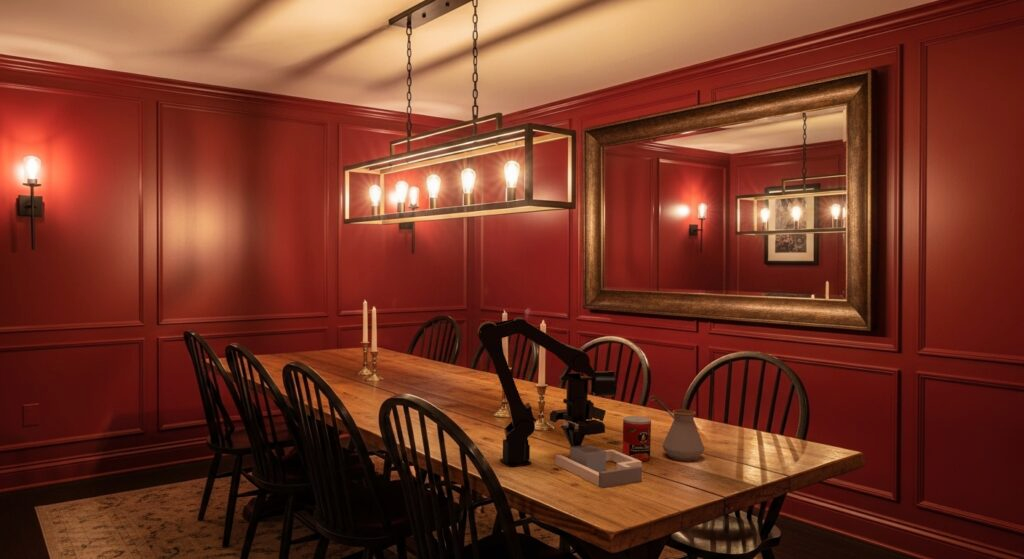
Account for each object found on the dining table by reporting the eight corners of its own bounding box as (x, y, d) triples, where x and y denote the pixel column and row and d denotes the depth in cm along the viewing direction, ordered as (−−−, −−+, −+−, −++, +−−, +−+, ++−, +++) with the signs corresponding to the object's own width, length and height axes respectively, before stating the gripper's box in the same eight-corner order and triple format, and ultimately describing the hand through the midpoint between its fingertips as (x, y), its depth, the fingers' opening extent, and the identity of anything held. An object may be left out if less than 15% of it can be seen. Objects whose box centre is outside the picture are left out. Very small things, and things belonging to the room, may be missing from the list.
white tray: (602, 487, 172) (602, 473, 172) (555, 464, 191) (555, 451, 191) (659, 478, 181) (659, 464, 181) (608, 456, 200) (609, 444, 200)
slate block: (587, 473, 184) (587, 454, 184) (569, 465, 191) (569, 446, 191) (605, 470, 187) (606, 451, 187) (588, 462, 194) (588, 444, 194)
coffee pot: (712, 460, 198) (714, 406, 197) (678, 464, 193) (680, 409, 193) (666, 441, 217) (667, 392, 217) (634, 445, 213) (635, 395, 212)
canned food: (630, 462, 194) (630, 422, 194) (617, 454, 202) (618, 416, 202) (655, 460, 196) (656, 421, 196) (642, 453, 204) (643, 415, 204)
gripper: (622, 399, 189) (620, 458, 189) (582, 387, 205) (581, 441, 206) (587, 403, 183) (586, 463, 184) (549, 390, 200) (548, 446, 200)
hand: (575, 453), depth 194 cm, fingers closed
